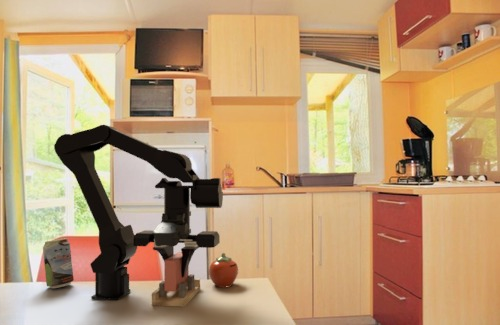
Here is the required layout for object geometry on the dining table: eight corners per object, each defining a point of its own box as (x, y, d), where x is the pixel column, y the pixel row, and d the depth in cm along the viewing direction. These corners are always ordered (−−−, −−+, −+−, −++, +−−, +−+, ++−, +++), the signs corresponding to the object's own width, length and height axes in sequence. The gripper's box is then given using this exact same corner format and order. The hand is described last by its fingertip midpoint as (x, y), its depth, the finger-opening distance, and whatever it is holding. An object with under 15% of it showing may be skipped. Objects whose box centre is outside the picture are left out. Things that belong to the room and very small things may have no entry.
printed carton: (62, 291, 89) (62, 241, 90) (36, 289, 91) (36, 240, 91) (79, 283, 95) (79, 236, 96) (54, 282, 97) (54, 236, 97)
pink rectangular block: (175, 291, 80) (175, 260, 80) (164, 290, 80) (164, 260, 80) (188, 279, 89) (188, 252, 89) (178, 279, 89) (178, 251, 89)
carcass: (151, 305, 79) (151, 286, 79) (171, 288, 91) (171, 271, 91) (184, 306, 78) (184, 287, 78) (200, 289, 90) (200, 272, 90)
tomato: (231, 290, 88) (230, 257, 89) (203, 287, 91) (203, 254, 91) (242, 282, 95) (242, 251, 96) (216, 279, 98) (216, 249, 98)
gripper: (121, 211, 79) (121, 285, 78) (207, 211, 76) (207, 289, 75) (144, 206, 90) (144, 272, 89) (219, 207, 87) (220, 274, 86)
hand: (177, 276), depth 85 cm, fingers closed on pink rectangular block, 2 cm apart
